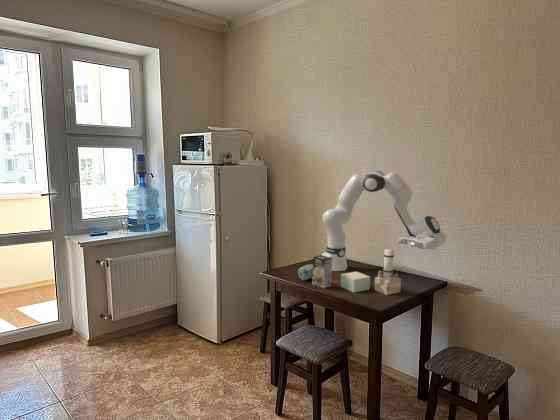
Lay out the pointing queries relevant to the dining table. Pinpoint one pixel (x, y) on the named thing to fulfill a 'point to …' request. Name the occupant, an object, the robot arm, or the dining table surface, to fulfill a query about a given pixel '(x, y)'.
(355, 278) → the beige box
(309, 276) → the spool
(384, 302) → the dining table surface
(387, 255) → the white thermos bottle
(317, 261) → the coffee box
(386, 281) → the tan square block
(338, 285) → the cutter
